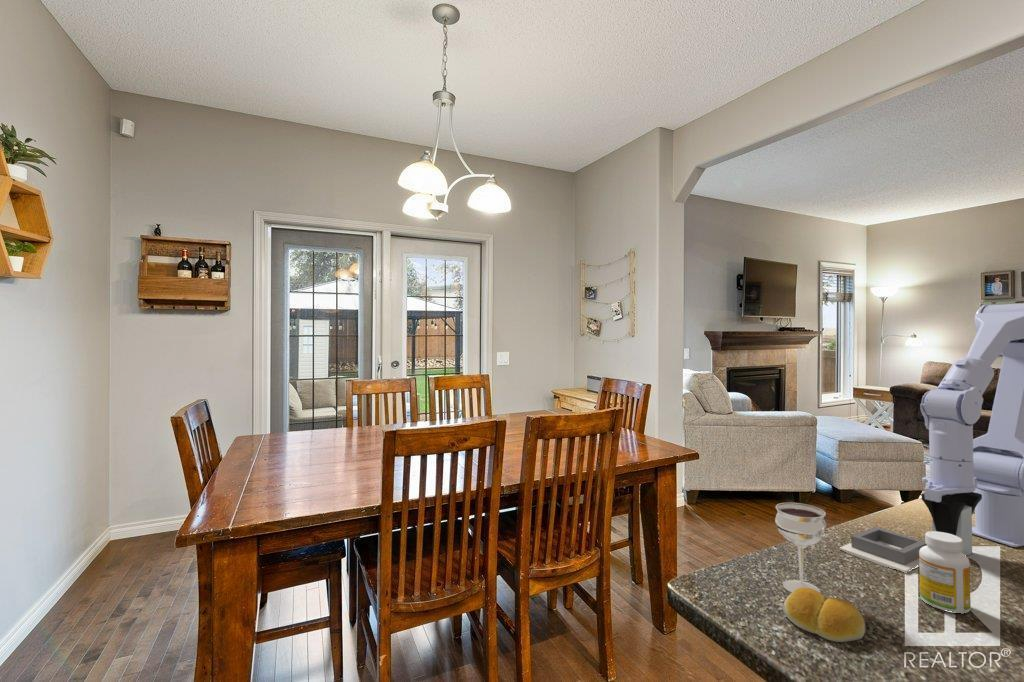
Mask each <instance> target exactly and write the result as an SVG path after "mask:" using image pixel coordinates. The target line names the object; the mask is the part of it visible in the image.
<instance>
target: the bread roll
mask: <svg viewBox="0 0 1024 682" xmlns="http://www.w3.org/2000/svg"><path fill="white" fill-rule="evenodd" d="M782 605H783V607H782V608H783V609H782V611H783V614H784V615H785V617H787V619H788V620H789V621H790V622H791V623H792V624H794V625H795V626H796V627H798V628H800V629H801V630H803V631H806V632H807V633H811V634H816V635H818V636H819V637H821V638H823V639H825V640H828V641H830V642H835V643H847V642H854V641H857V640H858V641H859V640H861V639H862V638H863V637H864V635H865V633H866V621H865V620H864V617H863V615H862V613H861V612H860V610H859V609H858V608H856V606H854V605H853V604H851V603H850V602H848V601H846V600H844V599H841V598H838V597H826V596H825V595H824V594H823V593H822V592H821V593H820V592H818V591H816V590H814V589H811V588H798V589H796V590H795V591H793V592H790V594H789V595H788V596H787V597H786V598H785V600H784V602H783V604H782Z"/></svg>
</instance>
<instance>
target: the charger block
mask: <svg viewBox="0 0 1024 682" xmlns="http://www.w3.org/2000/svg"><path fill="white" fill-rule="evenodd" d="M972 517H973V514H972V507H970V506H966V505H965V507H964V508H963V510H962V512H961V514H960V516H959V520H958V526H957V533H956V536H958V537H960V538H961V539H962V540H963V550H962V551H961V553H963V554H964V555H967V556H968V554H969V555H971V554H973V534H972V527H973V518H972ZM931 519H932V531H936V528H935V525H934V521H933V518H932V517H931Z"/></svg>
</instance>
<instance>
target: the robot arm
mask: <svg viewBox="0 0 1024 682" xmlns="http://www.w3.org/2000/svg"><path fill="white" fill-rule="evenodd" d="M974 326H975V330H976V334H975V336H974V339H973V341H972V343H971V345H970V348H969V349H968V352H967V353H966V356H965V357H960V358H957V359H956V360H955V361H953V363H952V365H950V368H948V370H947V372H946V374H945V375H944V377H943V378H942V380H941V381H940V383H939V385H938V386H937V388H933V389H930V390H928V391H926V392H925V393H924V395H922V398H921V402H920V405H919V409H920V412H921V415H922V416H923V419H924V426H925V429H926V430H928V438H929V439H928V441H929V449H928V450H929V476H923V477H921V482H922V483H926V484H927V486H926V487H924V493H923V492H922V493H921V500H922V502H923V503H924V505H925V506H926V507H927V510H928V511H929V513H930V515H931V516H930V517H931V519H932V518H933V519H932V522H933V521H934V525H935V528H936V531H937V532H944V533H949V534H952V535H955V536H956V533H957V526H958V520H959V516H960V514H961V512H962V510H963V508H964V507H965V505H966V506H970V507H972V515H973V513H974V526H973V525H972V535H974V536H978V537H981V538H984V539H987V540H990V541H993V542H997V543H1000V544H1003V545H1006V546H1009V547H1014V548H1019V547H1023V546H1024V303H1021V302H1020V303H1007V304H1006V303H1005V304H983V305H980V307H979V308H978V309H977V310H976V312H975V315H974ZM1000 355H1002V361H1001V365H1000V370H999V376H998V381H997V386H996V390H995V396H994V399H993V404H992V409H991V414H990V419H989V424H988V429H987V432H986V433H985V434H983V435H980V436H977V437H976V438H974V435H973V434H974V428H973V427H974V425H975V424H976V423H977V422H978V420H979V419H980V418H981V415H982V409H983V408H982V405H983V403H984V398H983V395H984V393H985V392H986V389H988V386H989V385H990V383H991V381H992V380H993V378H994V376H995V371H994V369H993V368H992V365H993V364H994V362H995V361H996V360H997V358H998V357H999V356H1000Z"/></svg>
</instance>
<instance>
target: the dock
mask: <svg viewBox="0 0 1024 682" xmlns="http://www.w3.org/2000/svg"><path fill="white" fill-rule="evenodd" d="M850 538H851V539H850V540H851V542H850V543H847V544H845V545H843V546H840V547H838V549H840V550H842V551H844V552H843V553H845V552H846V554H849V555H851V556H854V557H857V558H860V559H862V560H866V561H868V562H871V563H874V564H877V565H880V566H882V567H885V568H888V567H889V568H888V569H890V568H893V569H897V570H900V571H902V572H904V573H903V574H905V573H906V572H908V571H909V570H911V569H912V568H915V567H916V566H917V565H919V550H920V549H921V548H922V547H923V546H927V544H926V543H925V540H922V539H921V540H920V539H918V538H914V537H911V536H907V535H904V534H900V533H897V532H893V531H890V530H887V529H884V528H881V527H878V526H877V527H876V526H874V527H871V528H869V529H866V530H864V531H861V532H858V533H855V534H853V535H851V537H850ZM840 550H839V551H840ZM842 551H841V552H842ZM893 569H892V570H893ZM902 572H901V573H902ZM908 573H909V572H908ZM906 574H907V573H906Z"/></svg>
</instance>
